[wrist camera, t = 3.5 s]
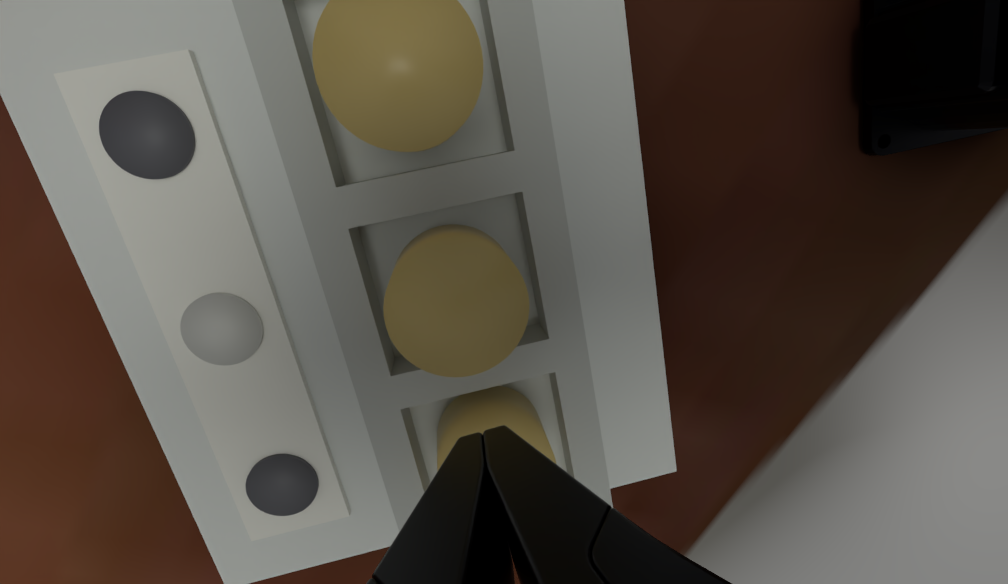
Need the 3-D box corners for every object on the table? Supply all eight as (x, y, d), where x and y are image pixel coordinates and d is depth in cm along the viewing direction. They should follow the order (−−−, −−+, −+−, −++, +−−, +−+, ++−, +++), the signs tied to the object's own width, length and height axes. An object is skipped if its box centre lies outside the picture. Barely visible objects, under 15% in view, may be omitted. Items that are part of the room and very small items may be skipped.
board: (601, -88, 15) (633, -135, 13) (665, 456, 21) (696, 496, 19) (-8, 17, 14) (-102, -12, 12) (236, 568, 20) (208, 627, 17)
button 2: (530, 374, 18) (545, 410, 15) (548, 463, 19) (565, 510, 16) (425, 399, 18) (424, 440, 15) (449, 489, 19) (452, 540, 16)
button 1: (458, -8, 13) (463, -45, 11) (487, 137, 14) (498, 134, 12) (316, 18, 13) (289, -14, 11) (357, 164, 14) (340, 166, 12)
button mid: (501, 212, 15) (514, 223, 13) (524, 327, 16) (540, 358, 14) (377, 239, 15) (365, 256, 12) (409, 354, 16) (404, 391, 13)
